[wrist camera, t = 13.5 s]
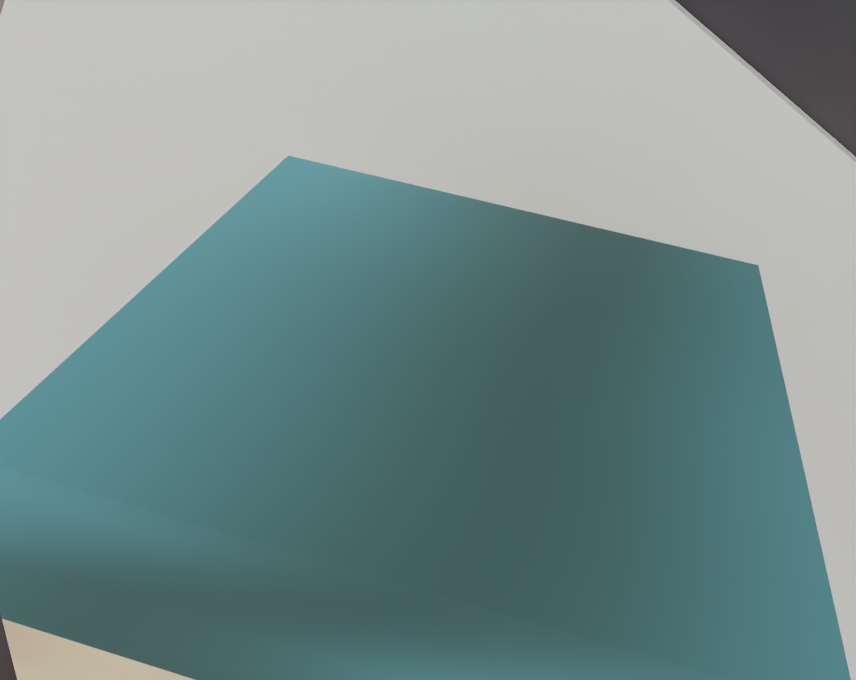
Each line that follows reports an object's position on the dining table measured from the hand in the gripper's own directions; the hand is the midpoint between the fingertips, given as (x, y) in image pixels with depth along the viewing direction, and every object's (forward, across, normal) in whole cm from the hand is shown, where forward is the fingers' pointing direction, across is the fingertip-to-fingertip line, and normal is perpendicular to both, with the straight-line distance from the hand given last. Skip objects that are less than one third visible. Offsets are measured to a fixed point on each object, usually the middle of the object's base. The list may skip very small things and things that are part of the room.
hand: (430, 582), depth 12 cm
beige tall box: (-3, 0, +6) cm, 7 cm away
